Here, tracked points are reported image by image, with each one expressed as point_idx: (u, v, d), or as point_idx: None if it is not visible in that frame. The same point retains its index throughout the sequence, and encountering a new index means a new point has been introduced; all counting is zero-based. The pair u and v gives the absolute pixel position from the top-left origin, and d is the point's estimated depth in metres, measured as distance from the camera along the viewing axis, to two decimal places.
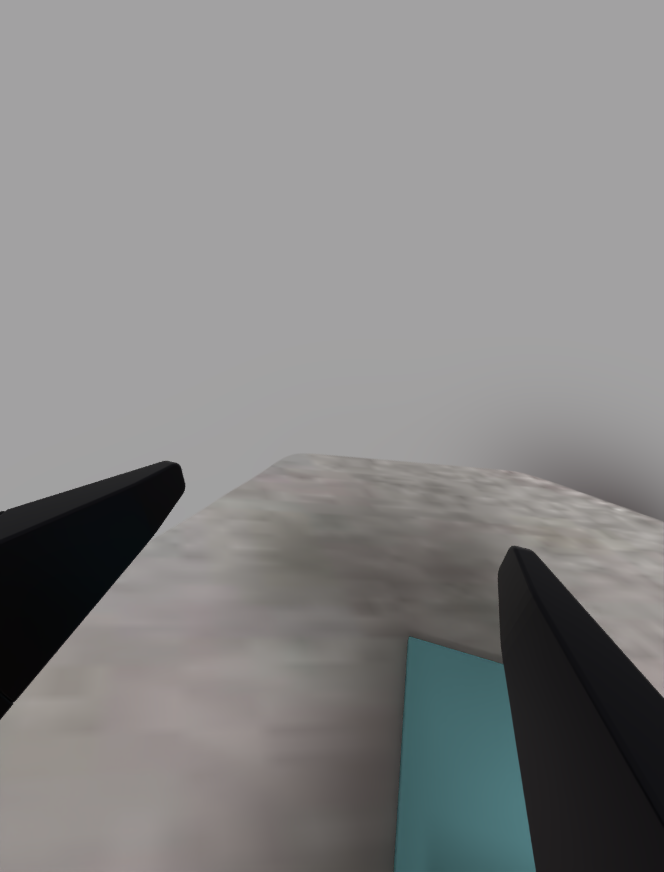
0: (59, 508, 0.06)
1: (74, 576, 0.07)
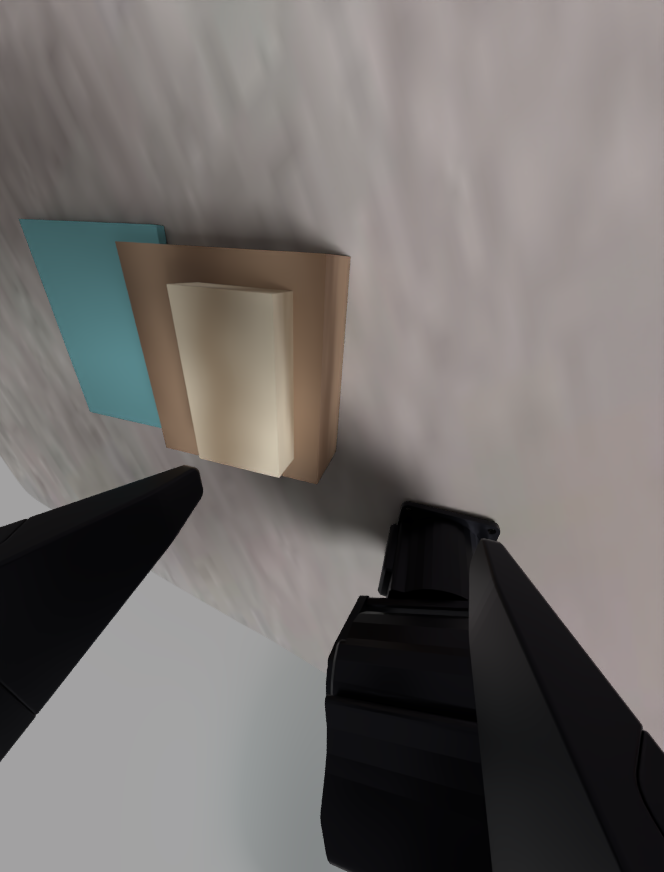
0: (82, 515, 0.06)
1: (96, 584, 0.07)
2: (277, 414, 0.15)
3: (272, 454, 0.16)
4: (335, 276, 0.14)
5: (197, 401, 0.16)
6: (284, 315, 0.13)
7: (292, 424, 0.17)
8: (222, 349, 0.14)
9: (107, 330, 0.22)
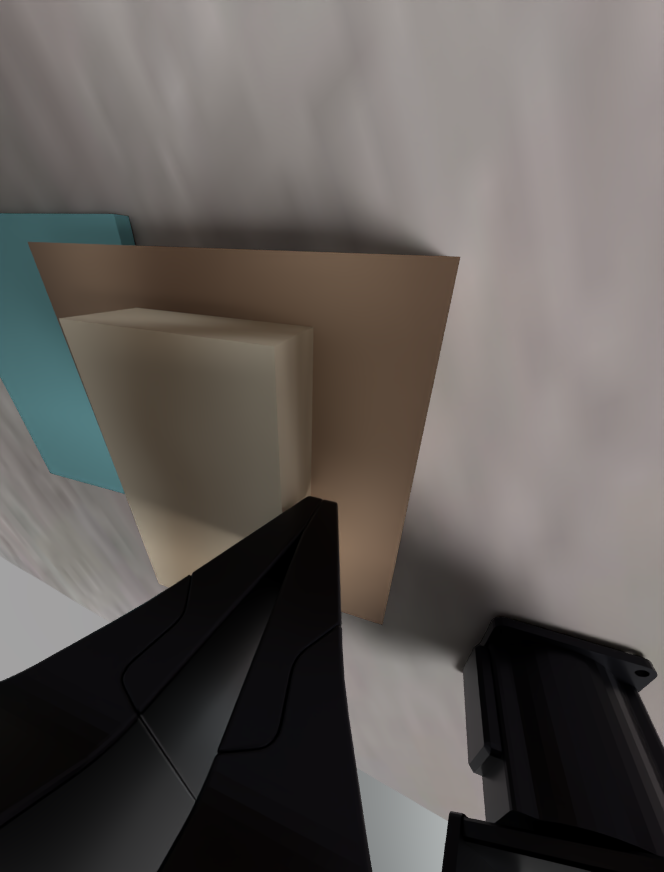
0: (248, 568, 0.05)
1: (255, 645, 0.06)
2: None
3: None
4: None
5: (144, 511, 0.09)
6: (298, 378, 0.07)
7: None
8: (177, 441, 0.07)
9: (59, 372, 0.15)
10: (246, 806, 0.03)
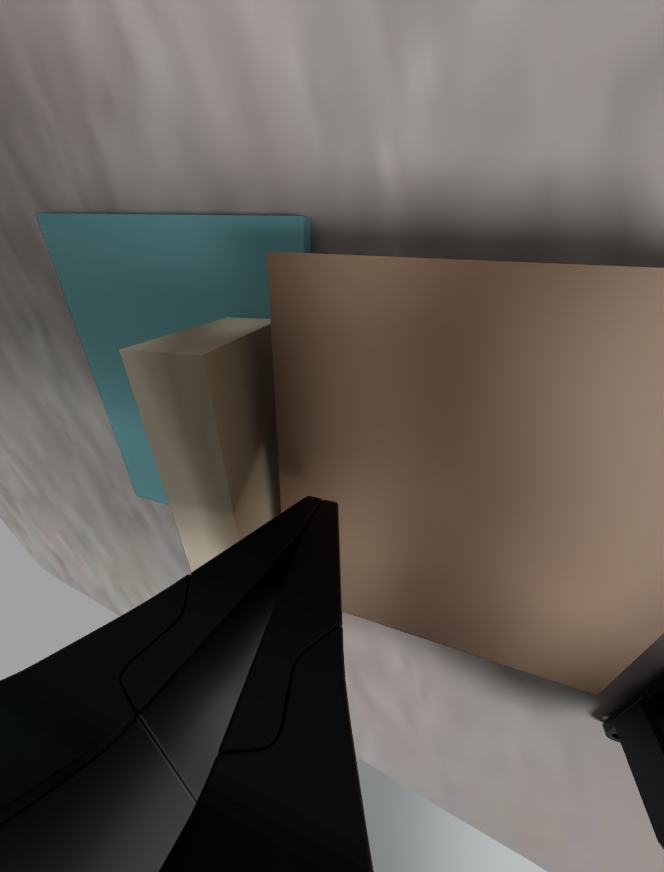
0: (247, 568, 0.05)
1: (254, 645, 0.06)
2: (178, 525, 0.09)
3: None
4: None
5: None
6: (173, 392, 0.07)
7: None
8: None
9: None
10: (247, 806, 0.03)
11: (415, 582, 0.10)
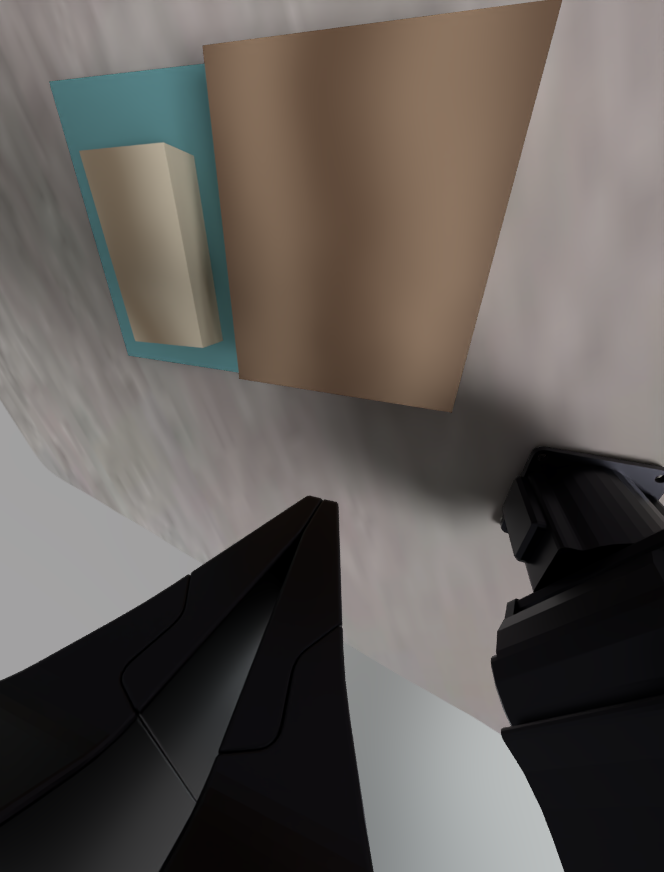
0: (247, 568, 0.05)
1: (254, 645, 0.06)
2: None
3: None
4: None
5: None
6: None
7: (125, 300, 0.18)
8: None
9: None
10: (247, 806, 0.03)
11: (323, 332, 0.14)
